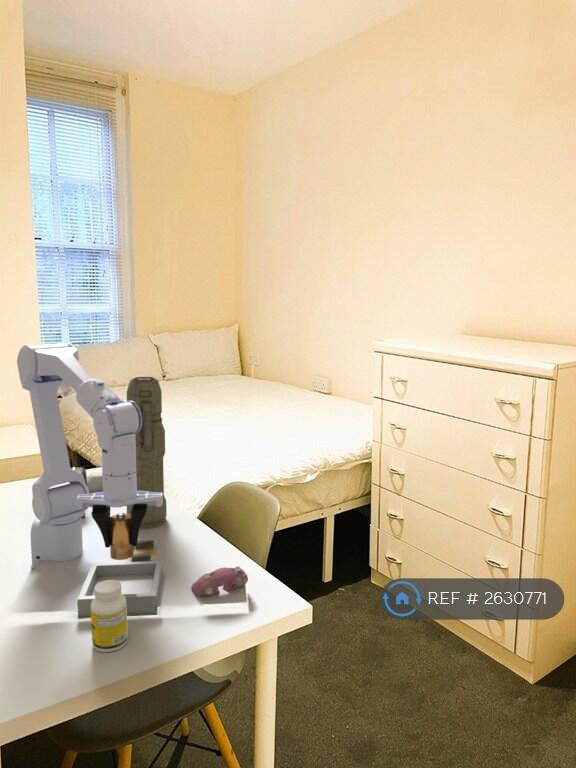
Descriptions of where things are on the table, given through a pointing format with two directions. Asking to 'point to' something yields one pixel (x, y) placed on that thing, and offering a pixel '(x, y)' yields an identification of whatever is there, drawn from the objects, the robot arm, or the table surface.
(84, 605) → the tray
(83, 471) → the battery charger
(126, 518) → the cell
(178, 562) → the table surface
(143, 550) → the brown stand base
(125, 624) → the supplement bottle
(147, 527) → the thermos
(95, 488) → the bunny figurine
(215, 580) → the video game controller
